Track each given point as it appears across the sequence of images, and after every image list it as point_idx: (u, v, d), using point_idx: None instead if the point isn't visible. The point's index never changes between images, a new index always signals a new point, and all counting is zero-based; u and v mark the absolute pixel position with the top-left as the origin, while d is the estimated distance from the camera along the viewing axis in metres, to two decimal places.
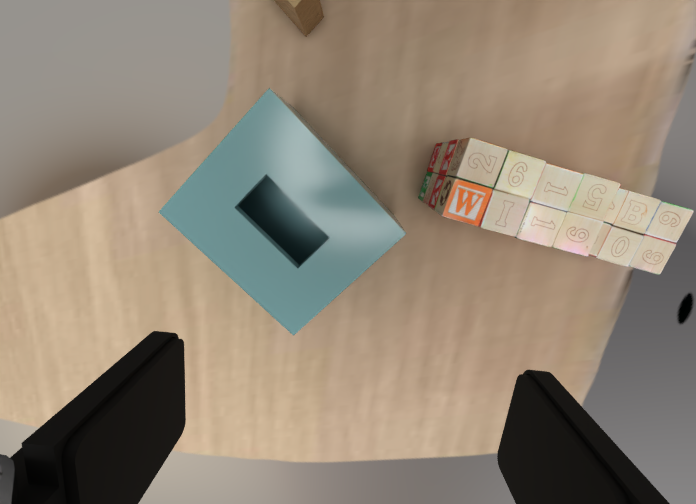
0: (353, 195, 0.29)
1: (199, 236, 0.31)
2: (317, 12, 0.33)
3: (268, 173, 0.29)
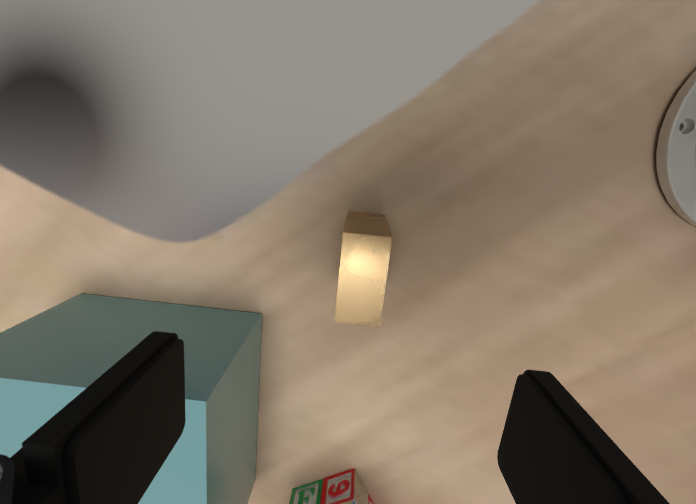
0: None
1: None
2: None
3: None
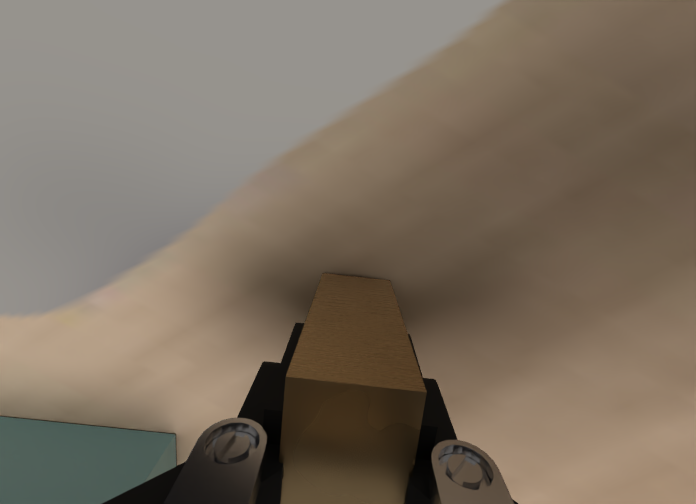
0: None
1: None
2: None
3: None
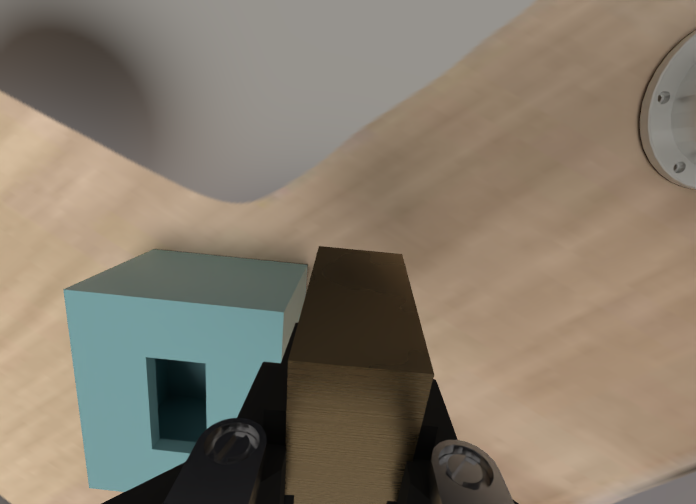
0: None
1: (84, 344, 0.23)
2: None
3: (208, 365, 0.23)
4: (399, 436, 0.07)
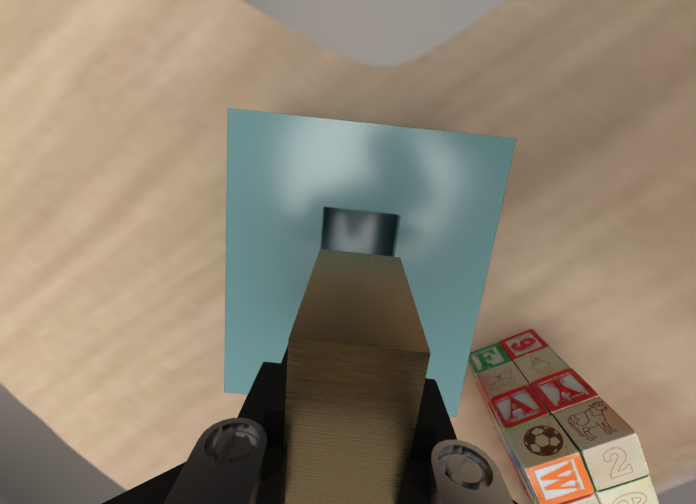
0: (456, 333, 0.20)
1: (244, 189, 0.18)
2: None
3: (403, 217, 0.18)
4: (397, 421, 0.07)
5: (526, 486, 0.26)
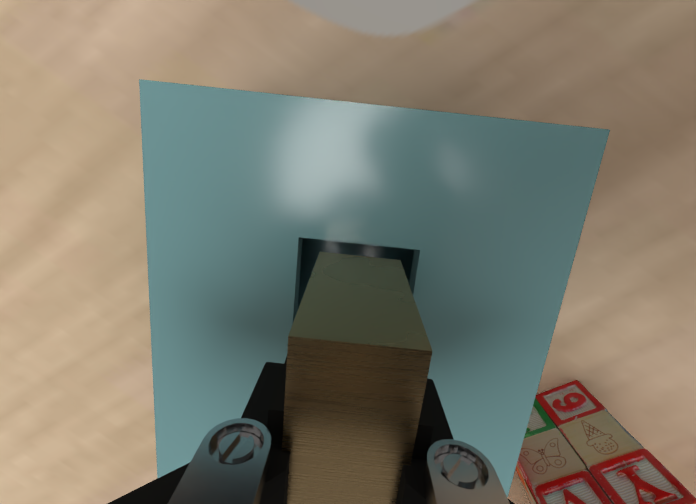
0: (501, 423, 0.13)
1: (173, 210, 0.11)
2: None
3: (425, 254, 0.12)
4: (399, 422, 0.07)
5: None
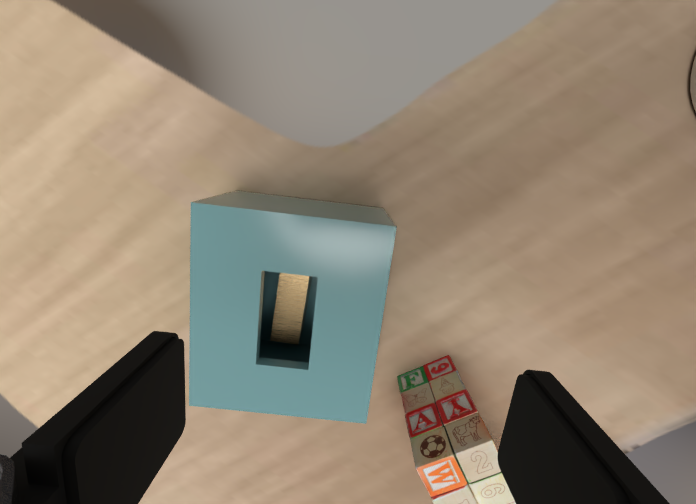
0: (362, 361, 0.27)
1: (203, 258, 0.25)
2: (295, 320, 0.31)
3: (320, 278, 0.25)
4: (303, 287, 0.30)
5: None
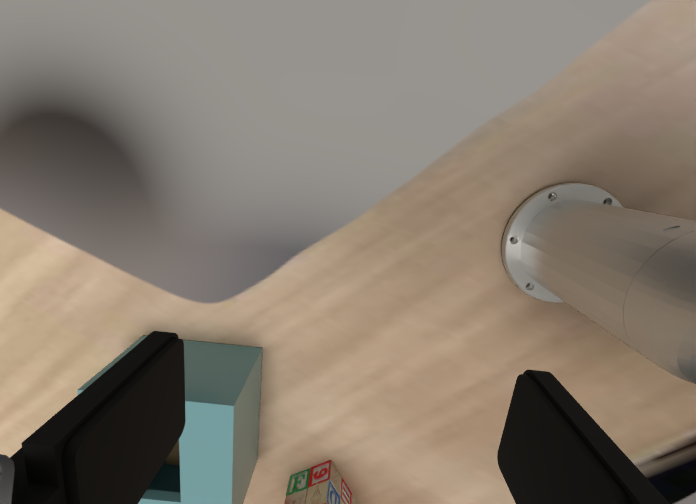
0: (221, 497, 0.34)
1: None
2: None
3: (181, 440, 0.33)
4: None
5: None
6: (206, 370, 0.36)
